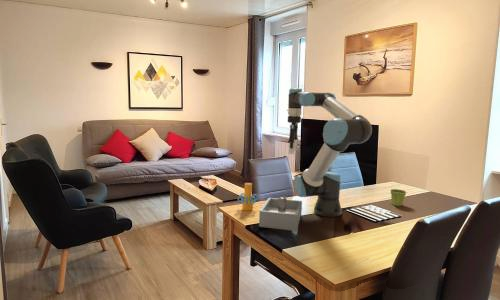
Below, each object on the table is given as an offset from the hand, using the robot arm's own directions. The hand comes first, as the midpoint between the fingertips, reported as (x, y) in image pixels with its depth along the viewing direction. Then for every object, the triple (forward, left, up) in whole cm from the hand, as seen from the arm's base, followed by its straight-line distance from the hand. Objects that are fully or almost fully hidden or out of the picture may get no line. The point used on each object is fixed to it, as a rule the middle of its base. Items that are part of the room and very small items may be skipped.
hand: (292, 152), depth 212 cm
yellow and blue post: (+22, +17, -32) cm, 42 cm away
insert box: (+1, +29, -32) cm, 43 cm away
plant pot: (-63, -21, -32) cm, 74 cm away
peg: (+1, +29, -32) cm, 43 cm away
